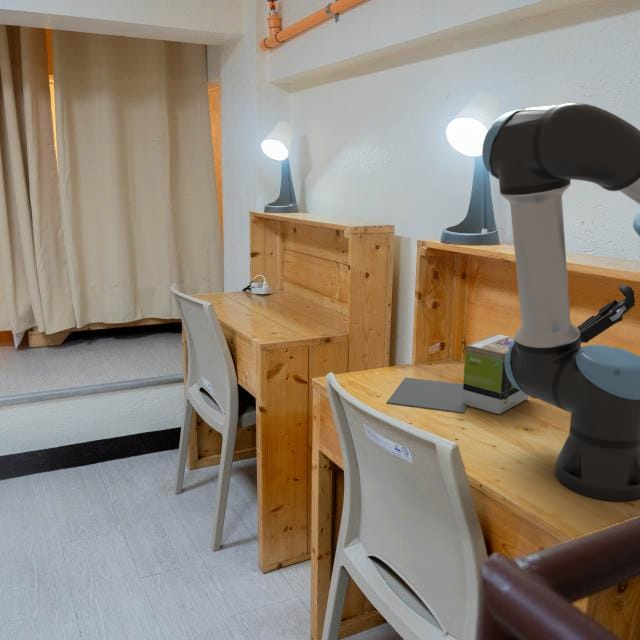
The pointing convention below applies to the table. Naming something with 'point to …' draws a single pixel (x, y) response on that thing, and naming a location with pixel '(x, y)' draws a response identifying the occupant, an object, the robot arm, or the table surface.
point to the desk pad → (429, 395)
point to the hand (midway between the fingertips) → (554, 355)
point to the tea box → (489, 376)
